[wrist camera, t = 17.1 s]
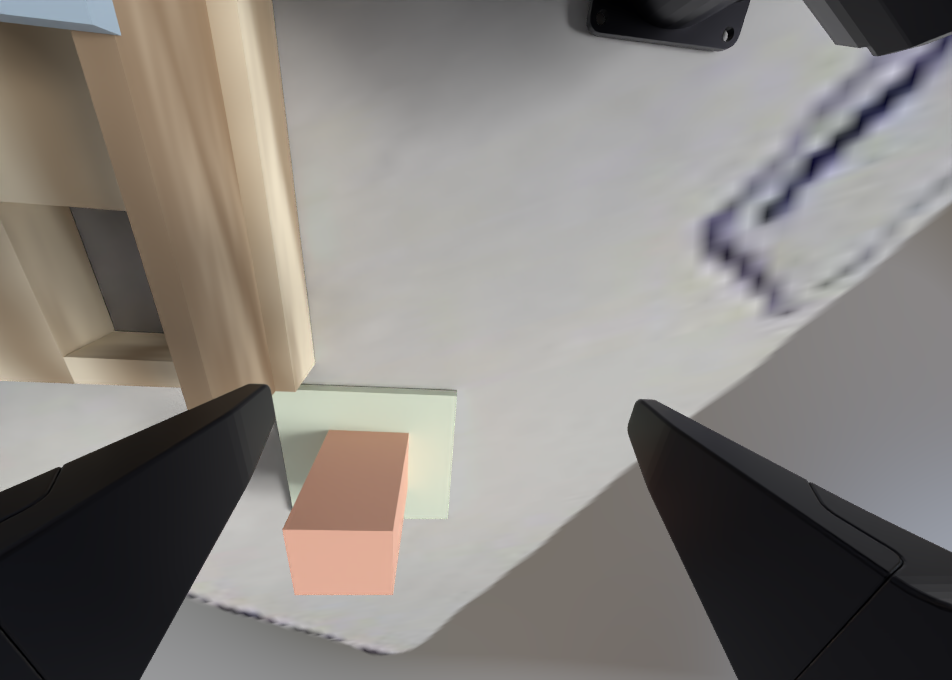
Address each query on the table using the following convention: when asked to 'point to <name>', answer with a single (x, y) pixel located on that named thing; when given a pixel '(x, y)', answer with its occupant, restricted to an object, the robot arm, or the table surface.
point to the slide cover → (63, 14)
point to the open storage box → (152, 200)
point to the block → (350, 515)
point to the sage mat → (376, 411)
